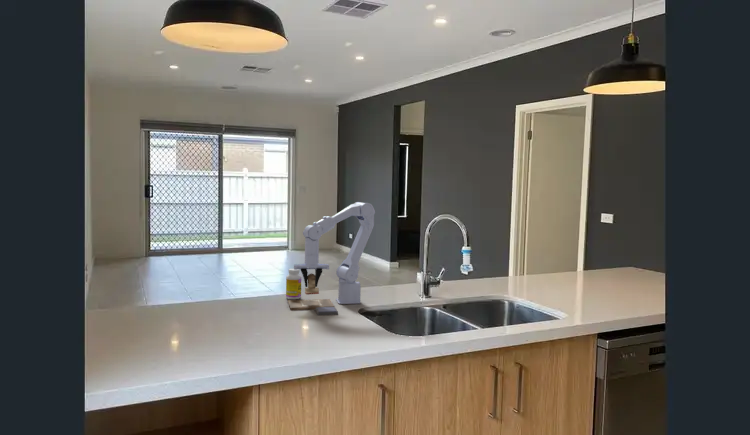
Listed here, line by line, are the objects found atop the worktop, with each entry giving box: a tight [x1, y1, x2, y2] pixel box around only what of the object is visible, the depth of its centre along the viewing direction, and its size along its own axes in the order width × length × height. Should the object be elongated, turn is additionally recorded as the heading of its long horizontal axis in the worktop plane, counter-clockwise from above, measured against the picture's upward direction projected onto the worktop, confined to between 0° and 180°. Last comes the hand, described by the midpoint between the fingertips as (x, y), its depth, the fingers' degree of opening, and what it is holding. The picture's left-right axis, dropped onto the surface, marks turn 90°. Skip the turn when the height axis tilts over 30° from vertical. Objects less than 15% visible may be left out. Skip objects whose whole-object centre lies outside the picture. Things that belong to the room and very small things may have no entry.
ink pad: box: [314, 306, 339, 316], centre depth 214 cm, size 8×8×1 cm
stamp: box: [304, 272, 320, 296], centre depth 223 cm, size 5×5×8 cm
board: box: [287, 298, 336, 311], centre depth 224 cm, size 18×13×1 cm
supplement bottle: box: [285, 268, 302, 300], centre depth 236 cm, size 7×7×13 cm
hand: (311, 286), depth 223 cm, fingers closed on stamp, 3 cm apart
